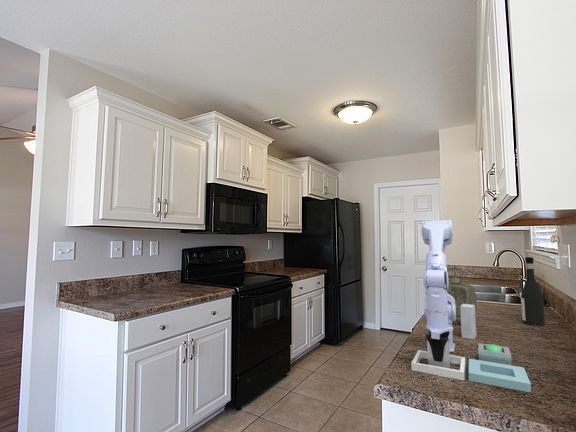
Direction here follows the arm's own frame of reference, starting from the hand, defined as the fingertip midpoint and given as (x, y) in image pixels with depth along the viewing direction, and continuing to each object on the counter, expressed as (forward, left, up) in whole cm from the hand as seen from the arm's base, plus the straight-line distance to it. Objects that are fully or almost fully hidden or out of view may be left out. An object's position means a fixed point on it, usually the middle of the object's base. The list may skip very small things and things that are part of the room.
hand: (438, 358), depth 91 cm
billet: (0, 0, -2) cm, 2 cm away
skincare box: (-40, +7, -3) cm, 41 cm away
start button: (-13, +14, -1) cm, 19 cm away
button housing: (-13, +14, -2) cm, 19 cm away
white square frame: (0, 0, -2) cm, 2 cm away
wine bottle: (-79, +32, -3) cm, 85 cm away
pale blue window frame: (0, +14, -2) cm, 14 cm away
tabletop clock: (-61, +2, -3) cm, 61 cm away
